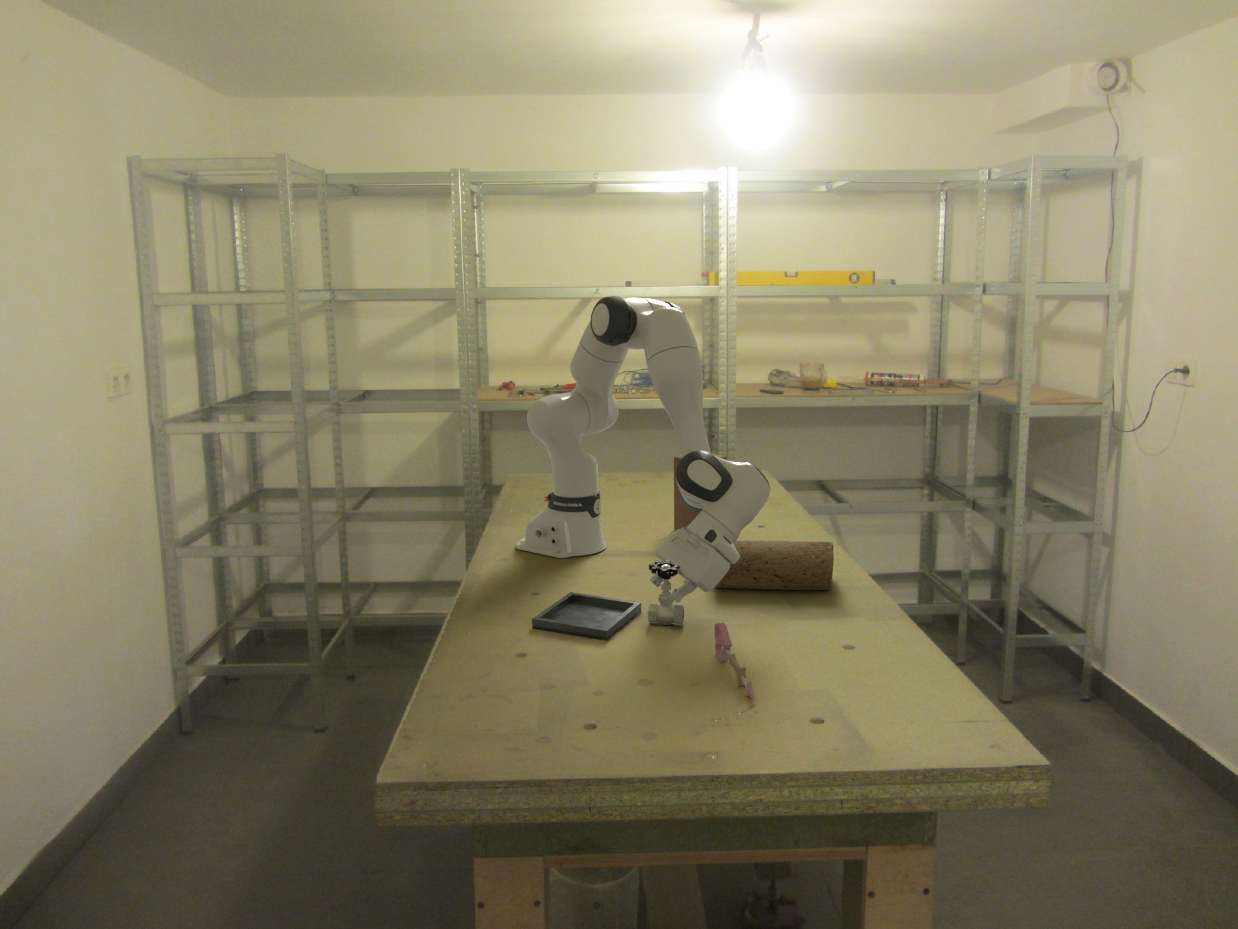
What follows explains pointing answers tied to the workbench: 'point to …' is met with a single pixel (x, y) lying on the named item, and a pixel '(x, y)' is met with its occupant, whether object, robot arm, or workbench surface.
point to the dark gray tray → (587, 616)
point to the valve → (665, 596)
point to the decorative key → (730, 656)
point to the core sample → (781, 566)
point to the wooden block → (680, 510)
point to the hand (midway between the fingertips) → (663, 591)
